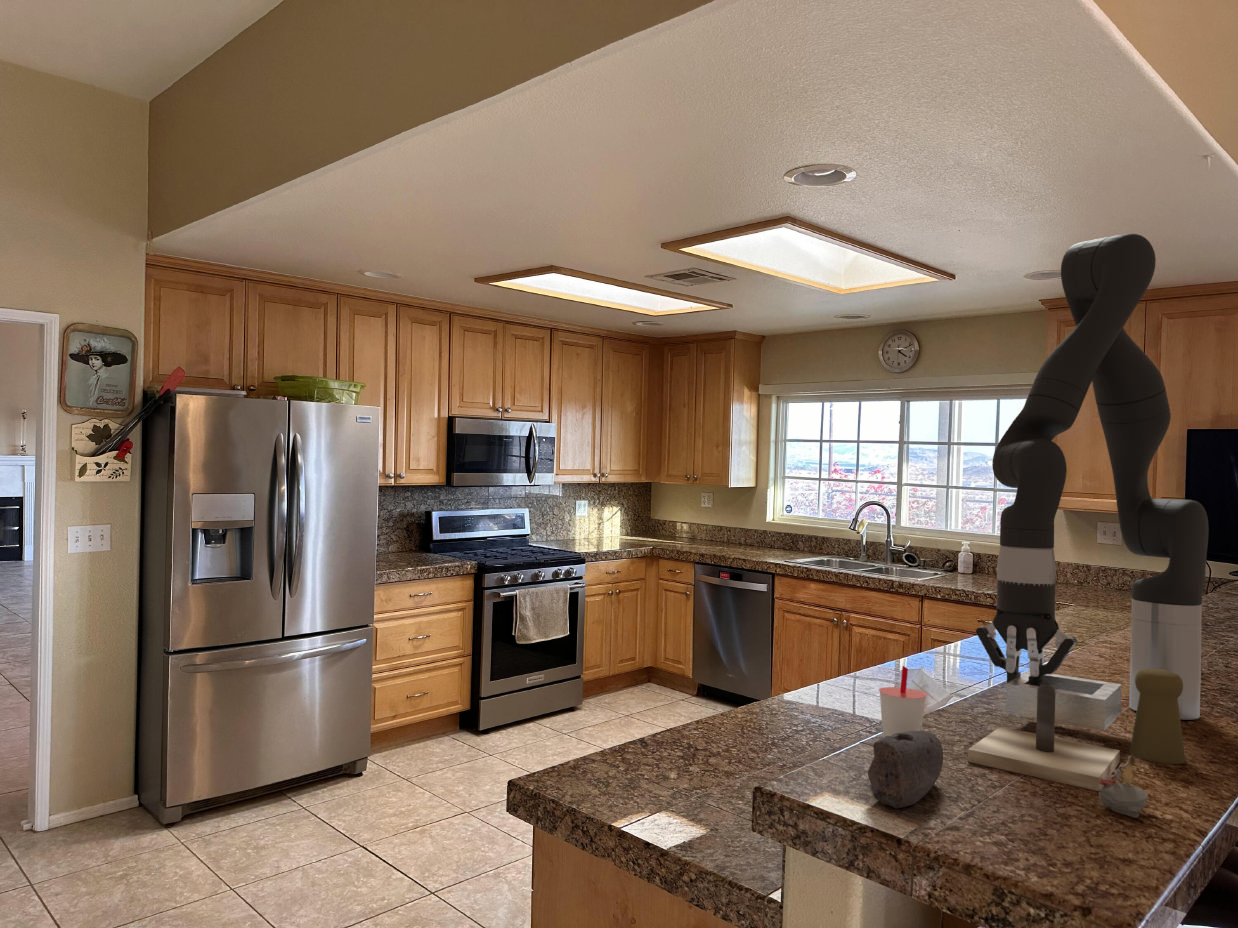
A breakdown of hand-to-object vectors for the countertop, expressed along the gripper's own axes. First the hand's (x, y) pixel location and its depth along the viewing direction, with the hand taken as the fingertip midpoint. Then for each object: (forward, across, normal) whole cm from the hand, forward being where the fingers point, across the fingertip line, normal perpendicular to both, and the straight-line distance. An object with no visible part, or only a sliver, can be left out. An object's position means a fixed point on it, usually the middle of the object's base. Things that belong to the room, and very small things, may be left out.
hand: (1023, 699), depth 120 cm
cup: (+3, +5, +33) cm, 33 cm away
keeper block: (+3, -6, +16) cm, 18 cm away
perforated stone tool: (+3, +1, +41) cm, 41 cm away
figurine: (+4, -17, +28) cm, 33 cm away
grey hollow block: (+1, -5, 0) cm, 5 cm away
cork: (+4, -16, +2) cm, 17 cm away
